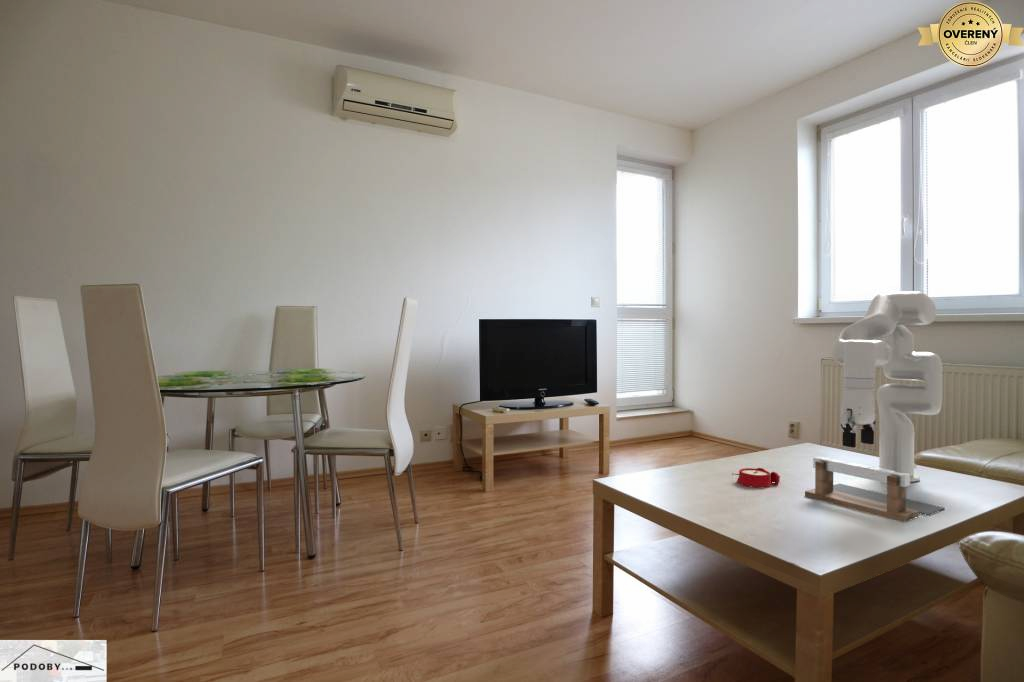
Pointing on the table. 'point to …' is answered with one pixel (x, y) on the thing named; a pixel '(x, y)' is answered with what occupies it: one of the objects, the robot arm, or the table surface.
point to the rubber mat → (881, 497)
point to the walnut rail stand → (891, 509)
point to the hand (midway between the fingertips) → (858, 445)
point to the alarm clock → (757, 477)
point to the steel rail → (863, 471)
